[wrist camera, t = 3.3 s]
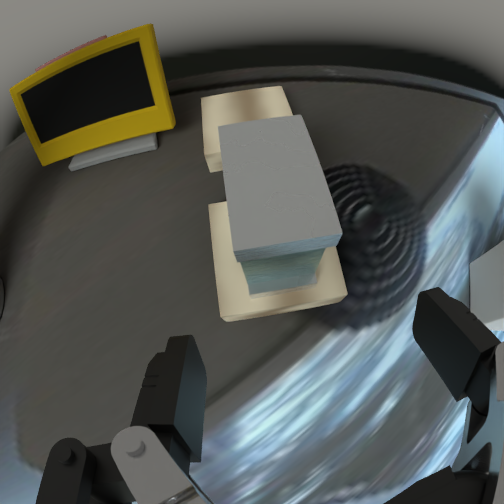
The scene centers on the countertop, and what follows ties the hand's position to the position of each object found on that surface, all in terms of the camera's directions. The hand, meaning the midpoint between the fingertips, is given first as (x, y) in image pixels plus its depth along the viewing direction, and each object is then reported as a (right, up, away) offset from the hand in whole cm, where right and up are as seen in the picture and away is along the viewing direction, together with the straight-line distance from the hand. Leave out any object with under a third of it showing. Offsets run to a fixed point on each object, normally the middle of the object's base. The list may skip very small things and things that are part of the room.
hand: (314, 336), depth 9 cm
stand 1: (-2, +17, +23) cm, 29 cm away
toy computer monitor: (-21, +18, +25) cm, 37 cm away
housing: (0, +3, +14) cm, 15 cm away
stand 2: (0, +2, +17) cm, 17 cm away
